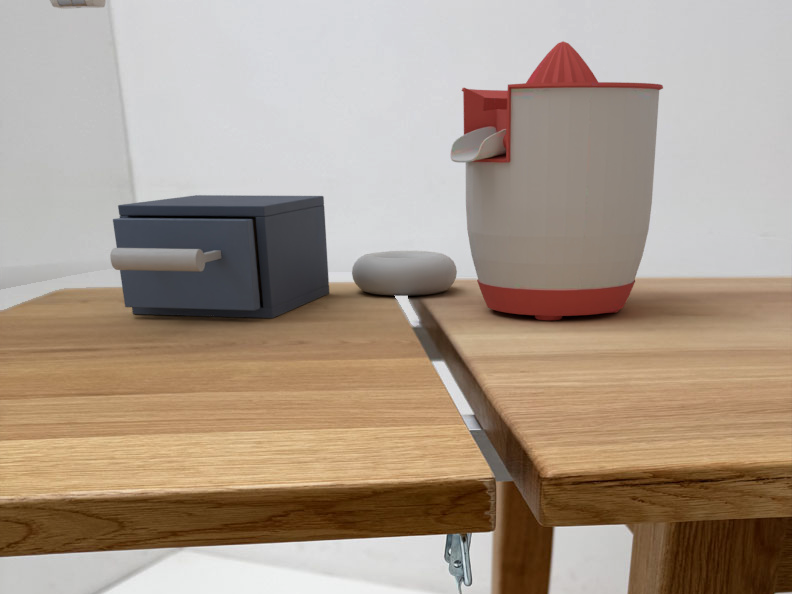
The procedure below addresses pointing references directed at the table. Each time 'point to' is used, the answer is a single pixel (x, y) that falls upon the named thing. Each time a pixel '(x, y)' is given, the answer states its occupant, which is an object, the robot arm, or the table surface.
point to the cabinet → (261, 246)
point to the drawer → (188, 262)
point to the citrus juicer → (558, 188)
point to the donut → (404, 273)
